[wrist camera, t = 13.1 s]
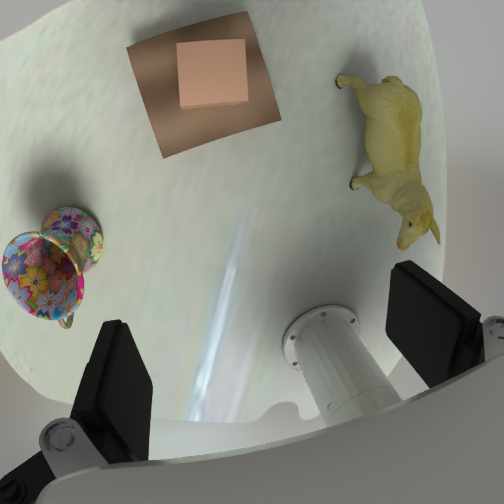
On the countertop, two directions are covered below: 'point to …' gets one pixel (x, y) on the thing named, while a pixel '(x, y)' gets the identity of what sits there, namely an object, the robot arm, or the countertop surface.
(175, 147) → the walnut box
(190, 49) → the terracotta block
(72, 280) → the mug
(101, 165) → the countertop surface
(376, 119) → the toy
